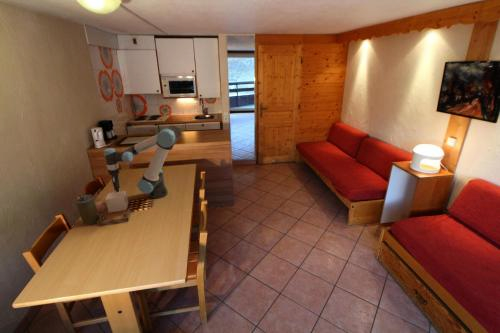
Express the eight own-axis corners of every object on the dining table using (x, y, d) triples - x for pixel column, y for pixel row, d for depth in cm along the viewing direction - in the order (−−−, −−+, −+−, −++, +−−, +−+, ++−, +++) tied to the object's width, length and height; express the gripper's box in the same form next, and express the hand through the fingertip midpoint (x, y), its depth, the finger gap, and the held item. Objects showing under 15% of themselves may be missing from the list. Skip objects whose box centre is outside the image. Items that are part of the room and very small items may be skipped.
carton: (128, 203, 196) (125, 190, 192) (126, 209, 187) (123, 196, 183) (111, 205, 192) (107, 193, 188) (108, 212, 183) (105, 199, 179)
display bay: (130, 211, 185) (129, 207, 184) (128, 221, 173) (127, 217, 171) (102, 215, 180) (101, 211, 179) (98, 226, 167) (97, 222, 166)
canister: (91, 226, 168) (84, 200, 160) (78, 224, 170) (70, 198, 162) (103, 217, 178) (96, 192, 170) (90, 215, 180) (83, 190, 172)
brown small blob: (105, 207, 190) (104, 200, 188) (104, 211, 185) (102, 204, 183) (96, 208, 189) (95, 201, 186) (95, 212, 183) (93, 205, 181)
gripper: (109, 166, 193) (115, 193, 201) (105, 172, 181) (112, 200, 190) (119, 165, 195) (125, 191, 204) (117, 171, 183) (123, 199, 192)
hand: (118, 196), depth 197 cm, fingers closed
